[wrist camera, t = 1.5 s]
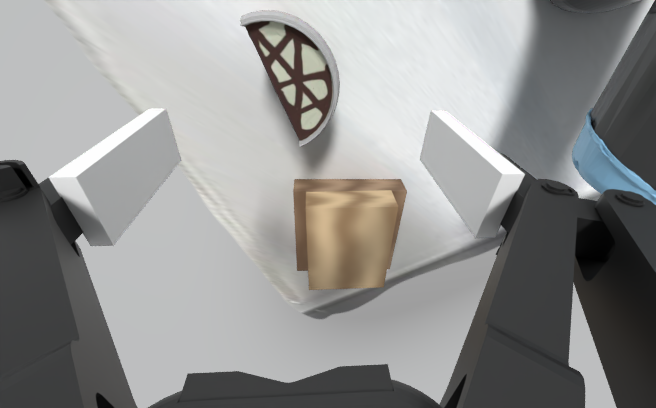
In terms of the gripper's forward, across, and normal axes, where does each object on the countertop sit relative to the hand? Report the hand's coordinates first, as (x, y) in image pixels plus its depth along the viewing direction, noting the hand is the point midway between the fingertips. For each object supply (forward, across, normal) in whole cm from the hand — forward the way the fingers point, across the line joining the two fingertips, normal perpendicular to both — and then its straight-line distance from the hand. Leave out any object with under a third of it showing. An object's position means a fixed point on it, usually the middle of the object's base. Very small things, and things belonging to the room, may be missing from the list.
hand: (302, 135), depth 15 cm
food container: (+23, 0, 0) cm, 23 cm away
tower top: (+19, -6, +24) cm, 31 cm away
